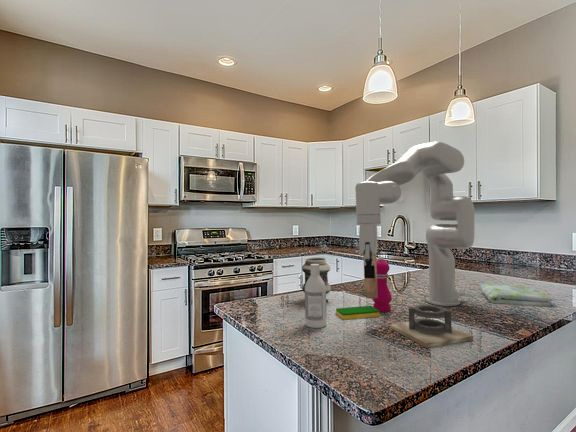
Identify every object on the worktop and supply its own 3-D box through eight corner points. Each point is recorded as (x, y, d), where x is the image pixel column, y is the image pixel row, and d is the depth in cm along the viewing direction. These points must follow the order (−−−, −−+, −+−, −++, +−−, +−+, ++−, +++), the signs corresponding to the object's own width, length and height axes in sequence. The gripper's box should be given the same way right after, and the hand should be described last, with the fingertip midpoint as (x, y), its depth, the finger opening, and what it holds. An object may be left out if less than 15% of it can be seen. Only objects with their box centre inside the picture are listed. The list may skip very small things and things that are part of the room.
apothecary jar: (298, 304, 133) (297, 260, 133) (307, 297, 144) (306, 256, 144) (326, 306, 128) (326, 261, 128) (334, 299, 140) (333, 257, 139)
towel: (554, 308, 122) (554, 294, 122) (489, 304, 129) (489, 291, 129) (535, 296, 139) (535, 284, 139) (479, 293, 146) (478, 282, 146)
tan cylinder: (373, 294, 108) (371, 246, 108) (380, 297, 104) (378, 247, 104) (362, 296, 107) (360, 247, 107) (369, 299, 103) (367, 248, 103)
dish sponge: (335, 314, 119) (335, 308, 119) (370, 311, 122) (370, 305, 122) (342, 320, 112) (342, 313, 112) (379, 317, 115) (379, 310, 115)
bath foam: (313, 320, 112) (312, 262, 112) (330, 324, 108) (329, 263, 108) (301, 325, 107) (300, 264, 107) (318, 330, 102) (317, 266, 102)
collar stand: (432, 322, 107) (432, 299, 107) (473, 340, 92) (472, 313, 92) (390, 328, 103) (390, 304, 103) (425, 347, 87) (425, 319, 87)
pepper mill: (392, 312, 119) (391, 257, 119) (372, 311, 121) (371, 257, 121) (390, 306, 126) (389, 255, 126) (371, 306, 128) (370, 255, 128)
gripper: (360, 219, 114) (362, 271, 115) (352, 221, 99) (354, 281, 99) (382, 218, 112) (384, 271, 112) (378, 221, 96) (380, 282, 96)
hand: (370, 275), depth 105 cm, fingers closed on tan cylinder, 4 cm apart
